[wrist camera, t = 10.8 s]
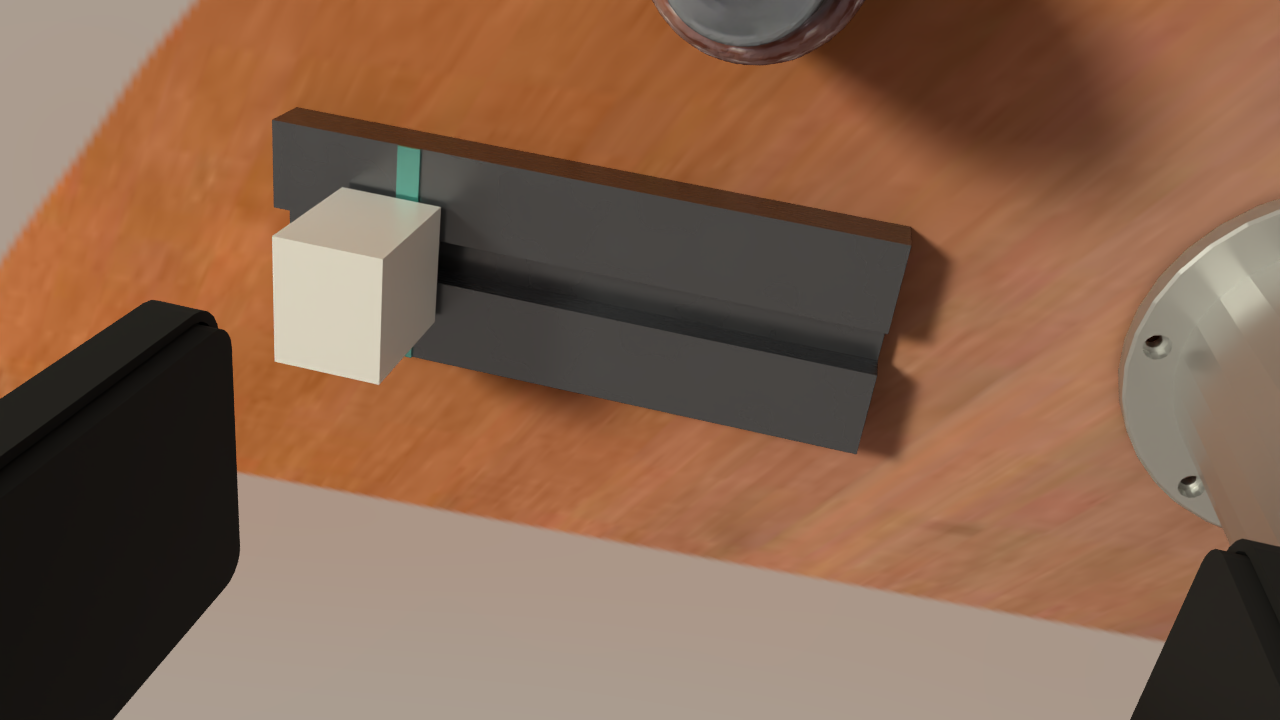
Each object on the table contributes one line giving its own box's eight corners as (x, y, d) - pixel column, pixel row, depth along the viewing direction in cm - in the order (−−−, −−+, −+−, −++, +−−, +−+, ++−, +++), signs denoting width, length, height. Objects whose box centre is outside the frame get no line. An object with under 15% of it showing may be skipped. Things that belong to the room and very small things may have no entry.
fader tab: (453, 196, 40) (382, 259, 34) (446, 308, 42) (379, 384, 36) (356, 176, 40) (272, 236, 35) (354, 289, 42) (274, 361, 37)
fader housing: (910, 227, 38) (911, 246, 36) (857, 429, 42) (856, 455, 40) (296, 107, 41) (271, 120, 39) (298, 307, 44) (274, 328, 43)
